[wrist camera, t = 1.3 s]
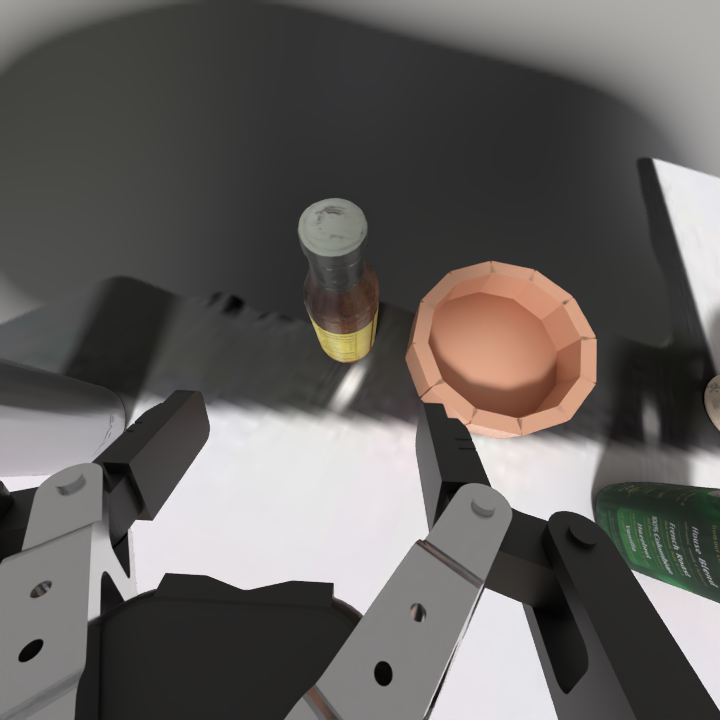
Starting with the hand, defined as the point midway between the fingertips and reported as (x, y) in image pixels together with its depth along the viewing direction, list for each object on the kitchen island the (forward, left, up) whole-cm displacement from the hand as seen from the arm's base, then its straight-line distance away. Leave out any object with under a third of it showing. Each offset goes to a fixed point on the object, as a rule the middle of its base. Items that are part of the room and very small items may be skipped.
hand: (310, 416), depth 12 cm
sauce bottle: (-2, +11, -23) cm, 26 cm away
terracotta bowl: (+14, +13, -23) cm, 30 cm away
